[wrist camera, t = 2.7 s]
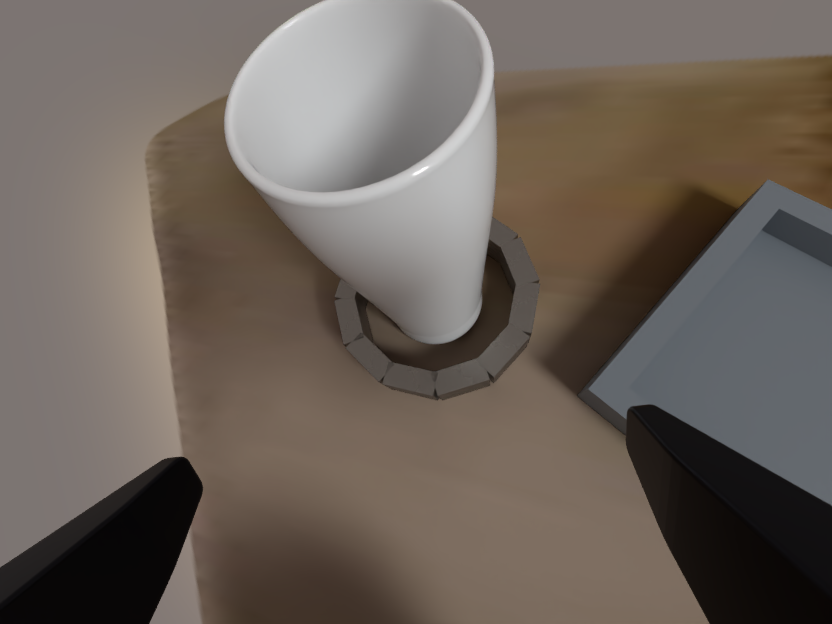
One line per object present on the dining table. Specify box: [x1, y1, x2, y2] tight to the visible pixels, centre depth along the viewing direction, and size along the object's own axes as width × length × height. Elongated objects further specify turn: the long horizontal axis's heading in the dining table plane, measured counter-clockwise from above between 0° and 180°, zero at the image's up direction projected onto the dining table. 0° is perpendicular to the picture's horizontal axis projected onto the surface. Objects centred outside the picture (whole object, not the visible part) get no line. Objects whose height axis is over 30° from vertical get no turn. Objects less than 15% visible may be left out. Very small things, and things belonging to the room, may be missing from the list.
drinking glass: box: [224, 0, 497, 344], centre depth 16 cm, size 7×7×15 cm
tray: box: [577, 180, 832, 505], centre depth 17 cm, size 14×14×2 cm
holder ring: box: [334, 217, 540, 400], centre depth 22 cm, size 11×11×2 cm
